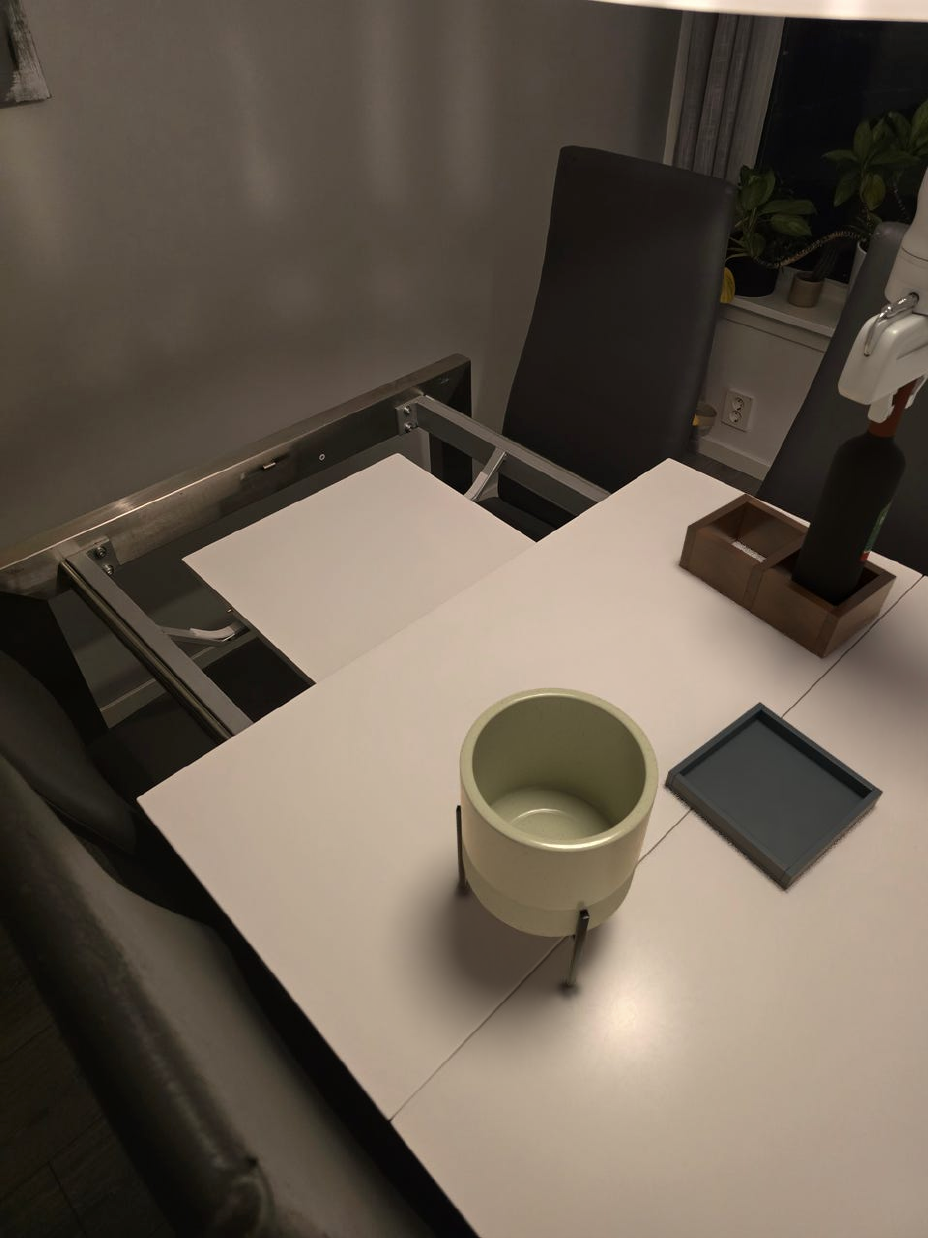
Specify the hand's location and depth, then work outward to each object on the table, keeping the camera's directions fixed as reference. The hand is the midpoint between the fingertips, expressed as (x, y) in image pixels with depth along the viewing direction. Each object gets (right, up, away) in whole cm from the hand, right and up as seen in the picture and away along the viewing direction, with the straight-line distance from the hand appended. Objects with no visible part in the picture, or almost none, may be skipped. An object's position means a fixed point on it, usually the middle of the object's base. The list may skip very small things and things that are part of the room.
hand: (888, 412), depth 84 cm
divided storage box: (-3, -18, +24) cm, 30 cm away
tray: (-13, -41, 0) cm, 43 cm away
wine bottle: (+1, -18, +17) cm, 25 cm away
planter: (-38, -50, -8) cm, 63 cm away
